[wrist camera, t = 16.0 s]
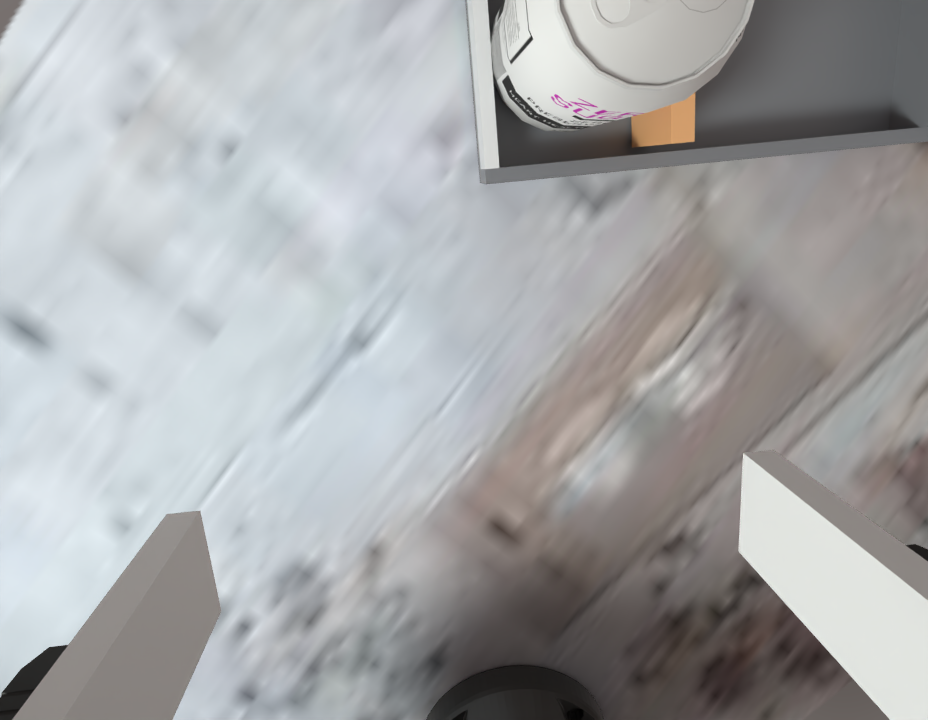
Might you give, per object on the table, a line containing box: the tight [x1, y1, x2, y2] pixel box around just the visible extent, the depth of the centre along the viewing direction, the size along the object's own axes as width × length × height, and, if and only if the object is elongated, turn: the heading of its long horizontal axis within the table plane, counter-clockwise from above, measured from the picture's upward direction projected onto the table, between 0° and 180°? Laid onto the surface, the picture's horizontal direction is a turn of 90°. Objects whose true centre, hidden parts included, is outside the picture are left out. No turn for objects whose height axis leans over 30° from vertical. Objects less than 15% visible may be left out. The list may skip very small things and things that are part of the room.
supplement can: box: [490, 0, 755, 132], centre depth 28 cm, size 8×8×15 cm
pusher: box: [631, 93, 695, 148], centre depth 33 cm, size 10×4×6 cm, turn 5°
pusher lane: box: [465, 0, 928, 184], centre depth 34 cm, size 12×26×6 cm, turn 95°
